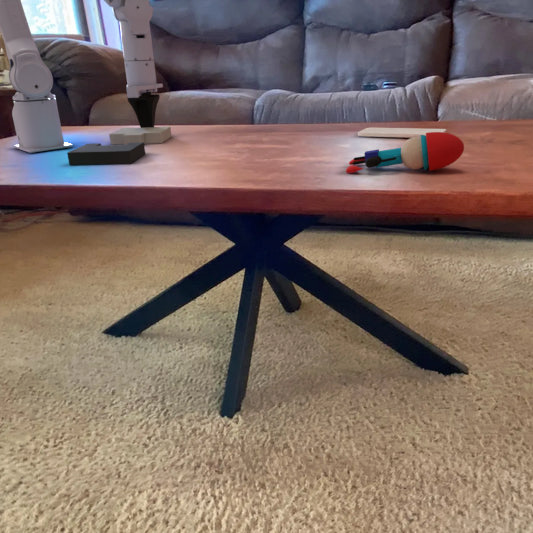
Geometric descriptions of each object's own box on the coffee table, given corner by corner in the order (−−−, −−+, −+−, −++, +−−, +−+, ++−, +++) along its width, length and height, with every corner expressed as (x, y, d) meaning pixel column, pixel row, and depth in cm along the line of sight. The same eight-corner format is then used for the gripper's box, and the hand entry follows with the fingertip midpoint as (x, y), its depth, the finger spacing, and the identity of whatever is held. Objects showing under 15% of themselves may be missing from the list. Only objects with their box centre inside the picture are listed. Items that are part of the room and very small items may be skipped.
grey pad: (123, 138, 105) (122, 128, 104) (171, 136, 104) (170, 126, 104) (107, 146, 96) (105, 135, 95) (159, 145, 95) (158, 134, 94)
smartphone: (368, 127, 101) (447, 128, 94) (367, 131, 101) (446, 133, 95) (356, 132, 95) (440, 134, 88) (356, 136, 95) (439, 139, 89)
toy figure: (347, 186, 68) (467, 169, 63) (341, 148, 66) (464, 128, 62) (353, 177, 74) (462, 161, 70) (349, 143, 73) (460, 125, 68)
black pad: (88, 155, 88) (86, 143, 87) (145, 154, 87) (144, 142, 86) (69, 165, 80) (66, 152, 80) (131, 163, 80) (129, 150, 79)
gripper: (149, 60, 93) (158, 136, 98) (168, 59, 106) (174, 126, 112) (111, 62, 93) (122, 137, 99) (134, 60, 107) (143, 127, 112)
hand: (148, 131), depth 105 cm, fingers closed
